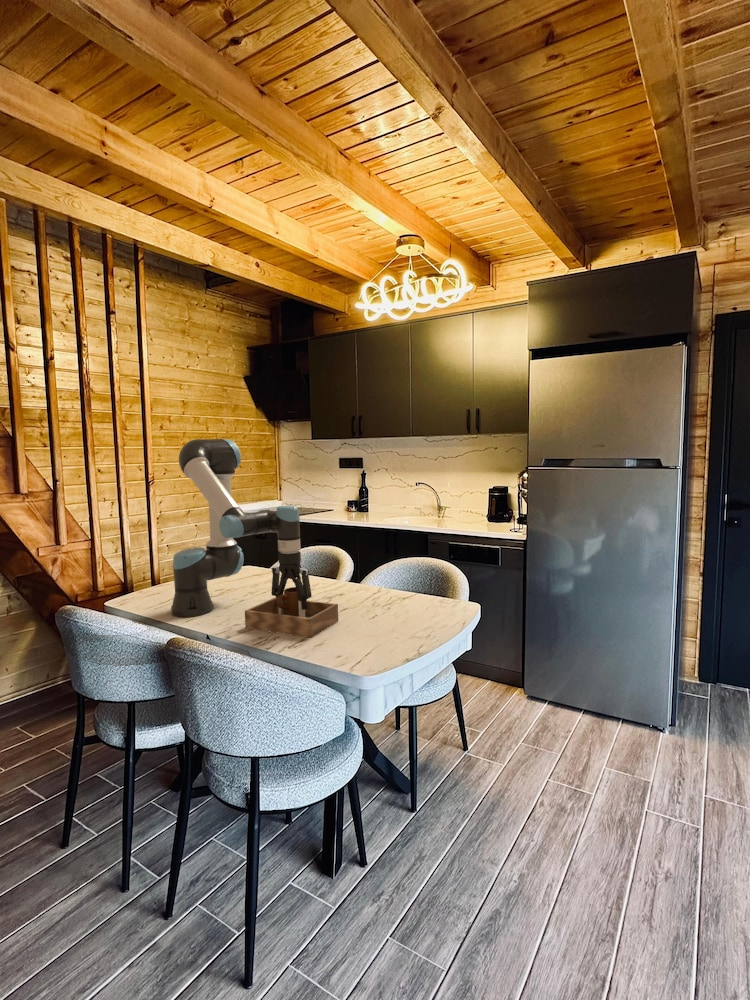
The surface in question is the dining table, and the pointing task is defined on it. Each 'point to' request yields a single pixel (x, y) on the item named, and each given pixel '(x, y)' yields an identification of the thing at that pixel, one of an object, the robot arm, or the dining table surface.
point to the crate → (291, 618)
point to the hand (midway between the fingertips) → (292, 617)
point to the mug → (290, 602)
